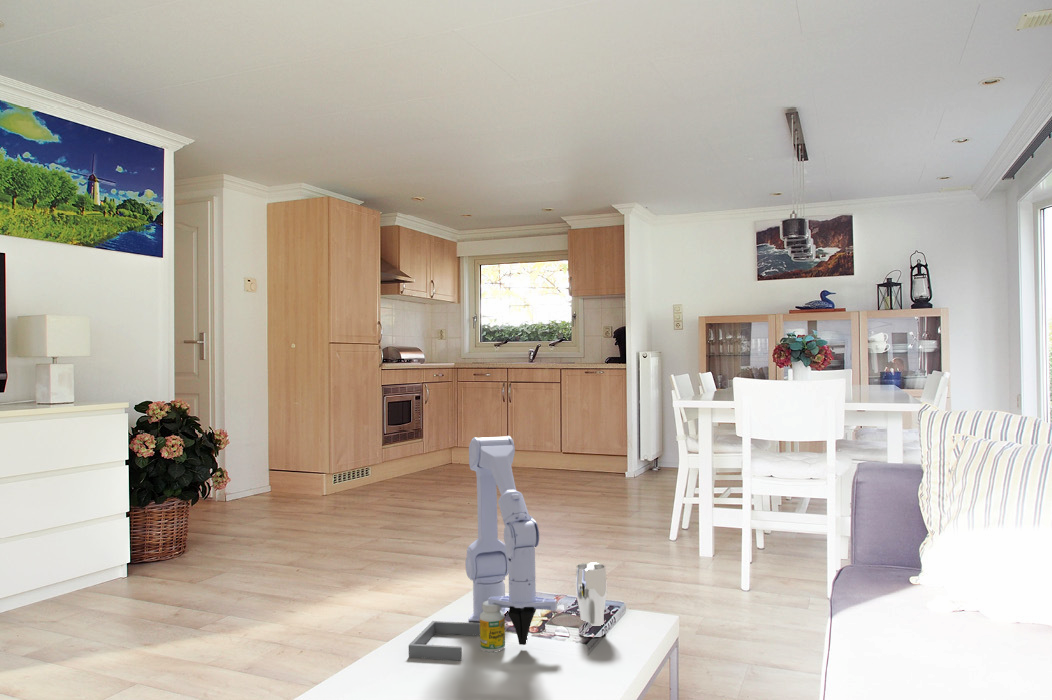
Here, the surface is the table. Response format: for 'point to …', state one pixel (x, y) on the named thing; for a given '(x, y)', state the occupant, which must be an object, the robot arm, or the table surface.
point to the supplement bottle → (492, 627)
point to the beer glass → (591, 592)
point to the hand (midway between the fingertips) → (523, 643)
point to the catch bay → (437, 651)
